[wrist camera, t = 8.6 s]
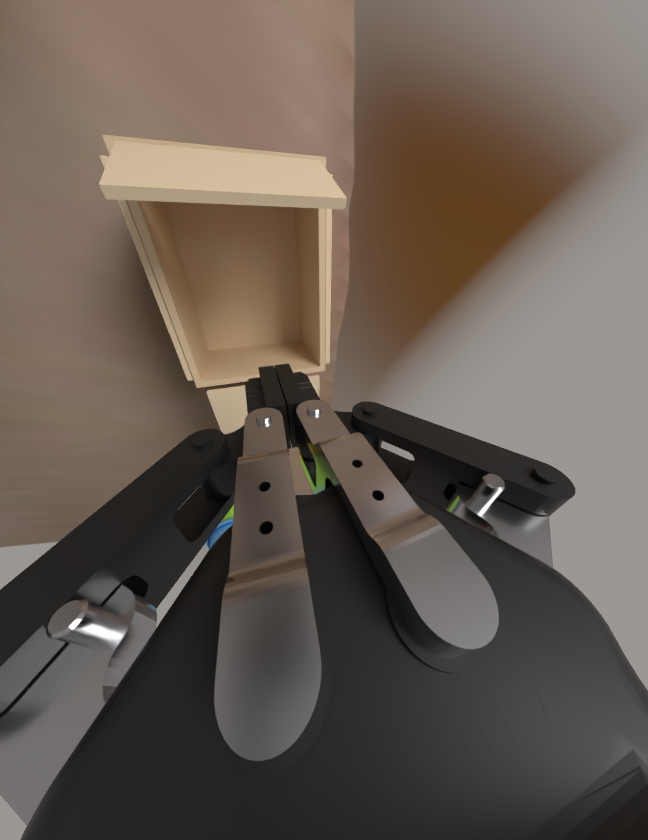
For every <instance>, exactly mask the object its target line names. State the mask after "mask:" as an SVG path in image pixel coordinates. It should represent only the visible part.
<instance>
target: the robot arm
mask: <svg viewBox="0 0 648 840" xmlns="http://www.w3.org/2000/svg"><path fill="white" fill-rule="evenodd" d="M258 369H259V375H260V377H258V378H250V379H248V381H247V382H246V384H245V391H246V402H247V412H248V415H247V416H246V418H245V422H244V425H243V426H242V427H241V428H240V429H238V430H236V431H234V432H232V433H229V434H227V435H224V434H223V433H222V432H221V431H219V430H216V429H205V430H201V431H198V432H195V433H193V434H191V435H190V436H188V437H187V438H186V439H184V440H183V441H182V442H181V443H179V444H178V445H177V446H176V447H175V448H173V449H172V450H171V451H170V452H168V453H167V454H166V455H165V456H164V457H162V458H161V459H160V460H159V461H157V462H156V463H155V464H154V465H153V466H151V467H150V468H149V469H148V470H146V471H145V472H144V473H143V474H142V475H140V476H139V477H138V478H137V479H135V480H134V481H133V482H132V483H130V484H129V485H128V486H127V487H126V488H124V489H123V490H122V491H121V492H119V493H118V494H117V495H116V496H115V497H113V498H112V499H111V500H110V501H108V502H107V503H106V504H105V505H104V506H102V507H101V508H100V509H99V510H97V511H96V512H95V513H94V514H93V515H91V516H90V517H89V518H88V519H86V520H85V521H84V522H83V523H82V524H80V525H79V526H78V527H77V528H75V529H74V530H73V531H72V532H70V533H69V534H68V535H67V536H66V537H64V538H63V539H62V540H61V541H59V542H58V543H57V544H56V545H55V546H53V547H52V548H51V549H50V550H49V551H47V552H46V553H45V554H44V555H42V556H41V557H40V558H39V559H38V560H37V561H35V562H34V563H33V564H32V565H30V566H29V567H28V568H26V569H25V570H24V571H23V572H22V573H20V574H19V575H18V576H17V577H15V578H14V579H13V580H12V581H11V582H9V583H8V584H7V585H6V586H5V587H3V588H2V589H1V590H0V795H1V796H2V797H3V798H4V799H5V800H6V802H8V804H9V805H10V806H11V807H12V809H13V810H14V811H15V812H16V813H17V814H18V816H19V817H20V818H21V819H22V820H23V822H24V823H25V824H26V825H27V827H26V829H25V831H24V833H23V835H22V838H21V840H648V690H647V689H646V688H645V686H644V685H643V683H642V682H641V680H640V679H639V677H638V676H637V674H636V673H635V671H634V669H633V668H632V666H631V665H630V663H629V661H628V660H627V658H626V656H625V655H624V653H623V651H622V649H621V647H620V646H619V644H618V642H617V640H616V638H615V637H614V635H613V633H612V631H611V630H610V628H609V626H608V624H607V623H606V622H605V620H604V619H603V617H602V616H601V614H600V613H599V612H598V610H597V609H596V608H595V607H594V605H593V604H592V603H591V602H590V601H589V600H588V598H587V597H586V596H585V595H584V594H583V593H582V592H581V591H580V590H579V589H578V588H577V587H576V586H575V585H574V584H573V583H571V582H570V581H569V580H568V579H567V578H565V577H564V576H563V575H562V574H560V573H559V572H558V571H556V570H555V569H553V561H552V550H551V538H550V525H549V516H550V515H551V514H552V513H553V512H555V511H556V510H557V509H558V508H559V507H561V506H562V505H563V504H564V503H565V502H567V501H568V500H569V499H570V498H572V497H573V496H574V494H575V487H574V485H573V484H572V482H571V481H570V480H569V479H568V477H566V476H565V475H564V474H563V473H562V472H560V471H559V470H557V469H556V468H554V467H552V466H550V465H548V464H546V463H543V462H540V461H538V460H535V459H532V458H529V457H526V456H523V455H520V454H518V453H515V452H512V451H510V450H507V449H504V448H501V447H498V446H496V445H493V444H490V443H487V442H484V441H481V440H479V439H476V438H473V437H470V436H468V435H465V434H462V433H459V432H456V431H454V430H451V429H448V428H445V427H442V426H439V425H437V424H434V423H431V422H428V421H426V420H423V419H420V418H417V417H414V416H412V415H409V414H406V413H403V412H400V411H398V410H395V409H392V408H389V407H386V406H384V405H381V404H378V403H375V402H360V403H358V404H356V405H355V406H354V407H353V409H352V412H338V411H333V409H332V408H331V406H330V405H329V404H328V403H326V402H324V401H321V400H320V398H319V396H318V394H317V393H316V391H315V389H314V387H313V385H312V383H311V382H310V380H309V378H308V376H307V375H305V374H304V373H302V372H295V373H293V371H292V369H291V367H290V364H289V363H288V364H280V365H274V366H273V365H272V366H264V367H258ZM290 441H291V444H290ZM382 441H385V442H387V443H389V444H392V445H394V446H396V447H399V448H401V449H403V450H406V451H408V452H410V453H411V454H412V455H413V456H414V458H415V460H414V461H412V460H408V459H406V458H404V457H401V456H399V455H397V454H395V453H392V452H390V451H388V450H385V449H383V448H381V443H382ZM291 445H292V448H293V447H298V448H299V451H300V460H301V463H302V465H303V468H304V470H305V473H306V475H307V477H308V480H309V482H310V485H311V487H312V489H313V492H314V495H295V491H294V484H293V478H292V472H291V465H290V459H289V450H288V449H289V448H291ZM199 486H200V487H199ZM198 487H199V488H198ZM197 488H198V489H197ZM196 489H197V490H196ZM195 490H196V491H195ZM194 491H195V493H194V494H193V495H192V496H191V497H190V495H191V494H192V493H193V492H194ZM189 497H190V498H189ZM188 498H189V499H188ZM187 499H188V500H187ZM186 500H187V501H186ZM185 501H186V502H185ZM184 502H185V503H184ZM183 503H184V504H183ZM182 504H183V505H182ZM181 505H182V506H181ZM233 505H234V513H233V525H232V526H231V527H229V528H228V529H227V530H226V531H225V532H224V533H223V534H222V535H221V536H220V537H219V538H218V539H217V541H216V542H215V543H214V544H213V546H212V547H211V548H210V550H209V551H208V553H207V554H206V556H205V557H204V559H203V560H202V562H201V563H200V565H199V566H198V568H197V569H196V571H195V572H194V574H193V575H192V576H191V578H190V580H189V581H188V582H187V584H186V585H185V587H184V588H183V590H182V591H181V593H180V594H179V596H178V597H177V599H176V600H175V602H174V603H173V604H172V606H171V607H170V609H169V610H168V612H167V613H166V615H165V616H164V618H163V619H162V621H161V622H160V624H159V625H158V627H157V628H156V623H157V613H156V608H157V607H158V606H159V604H160V603H161V602H162V600H163V599H164V598H165V596H166V595H167V594H168V592H169V591H170V590H171V588H172V587H173V586H174V584H175V583H176V582H177V580H178V579H179V578H180V576H181V574H183V572H184V571H185V570H186V568H187V567H188V565H189V564H190V563H191V561H192V560H193V559H194V557H195V556H196V555H197V553H198V552H199V551H200V549H201V548H202V547H203V545H204V544H205V543H206V541H207V540H208V539H209V537H210V536H211V535H212V533H213V532H214V531H215V529H216V528H217V527H218V525H219V524H220V523H221V521H222V520H223V519H224V517H225V516H226V514H227V513H228V512H229V510H230V509H231V508H232V506H233ZM180 506H181V508H180V509H179V507H180ZM178 509H179V510H178ZM177 510H178V511H177ZM155 628H156V630H155Z"/></svg>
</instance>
